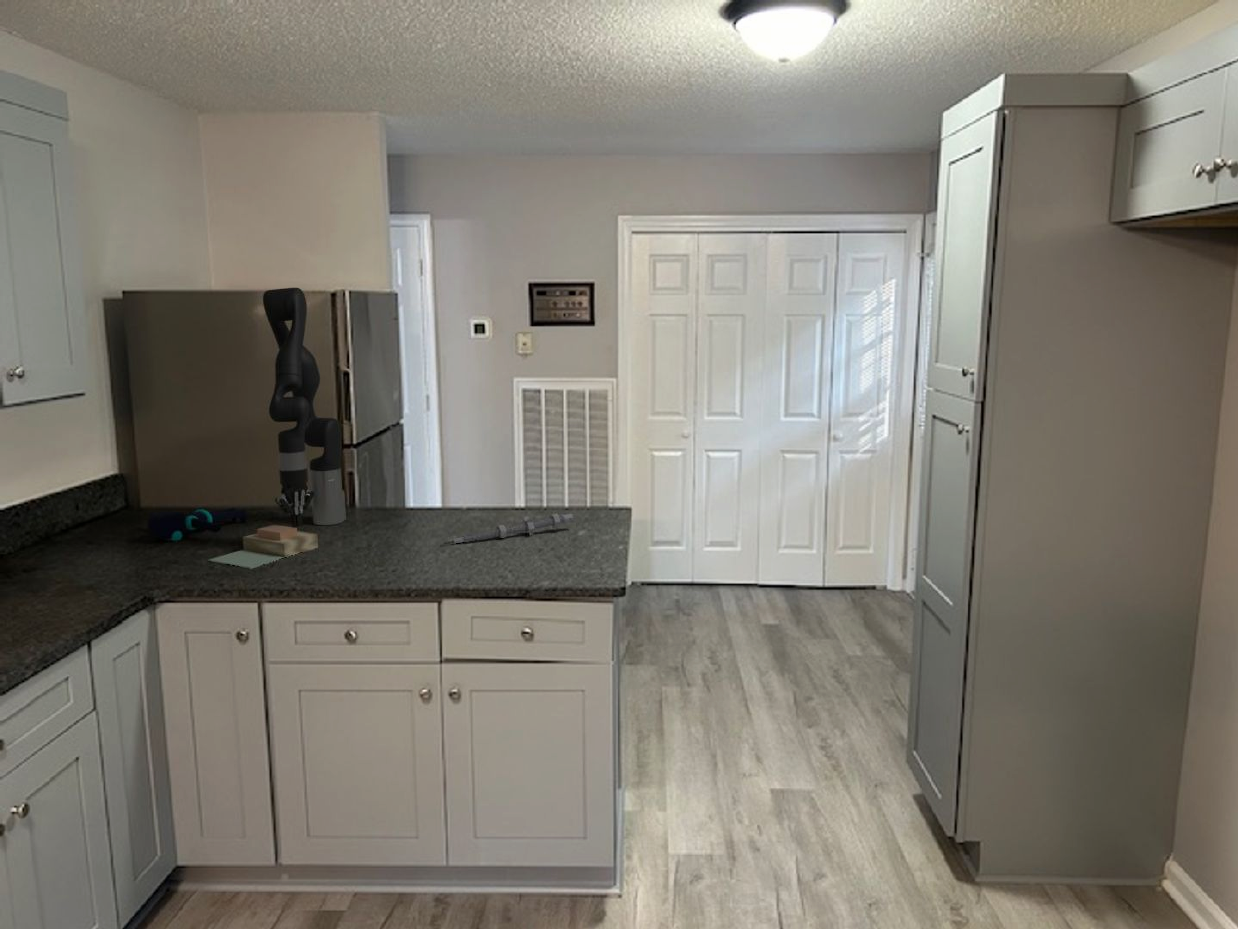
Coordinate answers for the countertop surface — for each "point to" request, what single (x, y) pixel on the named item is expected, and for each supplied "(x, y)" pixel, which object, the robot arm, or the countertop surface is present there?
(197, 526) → the toy
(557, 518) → the adjustable rod
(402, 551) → the countertop surface
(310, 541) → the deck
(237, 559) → the mat
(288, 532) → the tile
